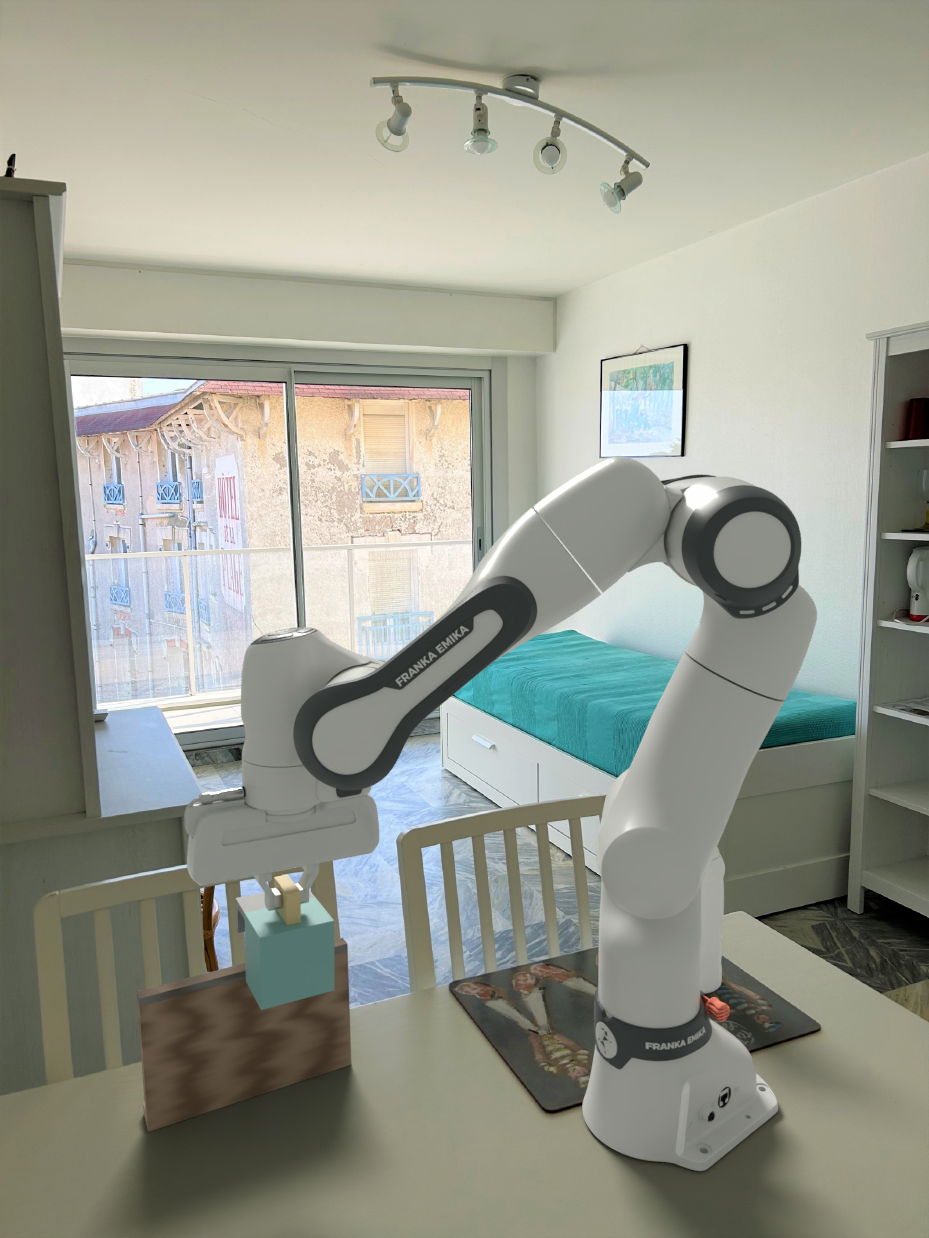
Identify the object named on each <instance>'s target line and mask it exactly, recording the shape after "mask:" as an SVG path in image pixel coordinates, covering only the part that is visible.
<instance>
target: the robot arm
mask: <svg viewBox="0 0 929 1238" xmlns="http://www.w3.org/2000/svg"><path fill="white" fill-rule="evenodd" d="M544 521H545V522H544ZM801 555H802V535H801V529H800V526H799V523H798V521H797V518H796V516H795V514H794V513H793V511H792V509H790V507H789V506H788V505H787V504H786V502H784V501H783V499H781V498H780V497H778V496H777V495H776V494H774V493H773V492H772V491H769V490H767V489H766V488H762V487H759V486H757V485H754V484H753V483H750V482H748V481H745V480H742V479H740V478H736V477H730V476H716V475H710V474H691V475H685V476H681V477H677V478H670V479H664V480H661V479H660V478H659V477H658V476H657V474H656V473H654V472H653V471H652V469H651V468H649V467H648V466H646V465H645V464H643V463H642V462H640V461H638V460H637V459H633V458H630V457H628V456H622V455H621V456H613V457H609V458H606V459H604V460H602V461H600V462H598V463H597V464H594V465H592V466H591V467H588V468H587V469H585V470H583V471H582V472H581V473H578V474H577V475H575V476H573V477H572V478H570V479H569V480H567V481H566V482H564V483H563V484H561V485H559V486H558V487H557V488H555V489H553V491H551V492H550V493H548V494H547V495H545V496H544V497H543V498H542V499H541V500H539V501H537V503H535V504H534V505H533V507H530V508H528V509H527V510H526V511H525V512H524V513H523V514H522V515H520V516H519V517H518V518H517V519H516V520H515V521H514V522H513V523H512V524H510V526H509V527H508V528H507V529H506V530H505V531H504V532H503V534H501V535H500V536H499V538H498V539H497V540H496V541H495V542H494V544H492V545H491V547H490V548H489V549H488V551H487V552H486V553H485V555H484V556H483V557H482V559H481V560H480V561H479V563H478V565H477V566H476V568H475V570H474V572H473V573H472V575H471V576H470V578H469V580H468V582H467V583H466V585H465V586H464V588H463V589H462V591H461V592H460V593H459V595H458V596H457V597H456V598H455V600H454V601H453V603H452V604H451V605H450V606H449V607H448V608H447V610H446V611H444V613H443V614H442V615H440V616H439V618H438V619H436V620H435V621H434V622H433V623H431V625H429V626H427V628H425V630H423V631H422V632H420V634H418V635H417V636H416V637H414V638H413V639H412V640H411V641H410V642H409V643H407V644H406V645H405V646H404V647H402V648H401V649H400V650H398V651H397V652H396V653H395V654H394V655H393V656H391V657H390V658H389V659H388V660H387V661H385V660H378V659H377V658H376V659H375V658H372V657H369V656H367V655H366V656H365V655H362V654H360V653H357V652H354V651H351V650H350V649H347V648H345V647H343V646H341V645H339V644H337V643H336V642H334V641H332V640H331V639H330V638H328V637H327V636H326V635H325V634H324V633H323V632H321V631H320V630H319V629H317V628H313V627H310V626H305V627H303V626H300V627H299V626H298V627H290V628H284V629H278V630H276V631H273V632H268V633H265V634H264V635H261V636H259V637H258V638H256V639H254V640H253V641H252V642H251V643H250V645H248V646H247V648H246V650H245V653H244V657H243V661H242V663H243V664H242V670H241V680H240V681H241V682H240V683H241V684H240V718H241V721H242V724H243V727H244V732H245V733H244V735H245V736H244V742H243V746H242V751H241V777H242V779H241V780H242V781H241V783H242V785H241V787H234V788H228V789H224V790H223V789H222V790H221V791H215V792H214V791H207V792H203V793H200V794H198V797H197V798H194V799H192V800H191V801H190V802H189V803H188V804H187V805H186V807H185V809H184V814H183V815H184V816H183V818H184V830H185V832H186V834H187V835H188V840H187V853H186V868H187V872H188V874H189V876H190V878H191V879H192V881H194V882H195V883H196V884H197V885H199V886H201V887H204V886H211V885H216V884H220V883H225V882H232V881H236V880H241V879H246V878H251V877H253V878H254V879H255V880H256V882H257V883H258V884H259V886H260V888H261V889H262V890H263V892H265V906H266V908H267V910H268V911H272V910H276V909H280V908H282V907H283V904H282V900H283V894H282V893H281V891H279V889H278V887H277V888H274V887H273V888H271V887H270V885H269V884H268V883H270V882H272V881H273V873H276V872H281V871H286V870H291V869H292V870H293V869H297V868H302V869H303V872H302V873H301V876H300V878H299V880H298V882H297V883H296V882H295V885H296V886H297V887H298V888H299V890H300V891H301V904H304V903H308V902H309V890H310V889H311V887H312V886H313V884H314V882H315V881H316V878H317V877H318V875H319V873H320V864H322V863H327V862H335V861H338V860H344V859H347V858H353V857H360V856H363V855H369V854H372V853H374V852H375V850H376V849H377V848H378V845H379V843H380V823H379V814H378V808H377V804H376V801H375V799H374V798H373V797H372V795H371V794H369V793H371V791H372V786H374V785H376V784H377V783H379V782H381V781H383V780H384V779H385V778H386V777H387V776H388V775H389V774H390V772H391V771H392V770H393V768H394V767H395V765H396V764H397V762H398V761H399V758H400V756H401V754H402V751H403V749H404V747H405V745H406V743H407V741H408V740H409V738H410V736H411V734H412V733H413V732H414V730H415V729H416V728H417V727H418V726H419V725H420V724H421V723H422V722H423V721H424V720H425V719H426V718H427V717H428V716H430V715H431V714H432V713H433V712H434V711H436V710H437V709H438V708H439V707H440V706H442V705H443V704H444V703H445V702H446V701H448V700H449V699H450V698H451V697H452V696H454V695H455V694H456V693H457V692H458V691H460V690H461V689H463V687H464V686H465V685H467V684H468V683H470V681H472V680H473V679H474V678H475V677H477V676H478V675H479V674H480V673H482V671H484V670H485V669H486V668H487V667H489V666H491V664H493V663H494V662H495V661H496V660H498V659H500V658H501V657H502V656H505V655H506V654H508V653H510V652H512V651H513V650H515V649H517V648H518V647H520V646H522V645H524V643H527V642H528V641H530V640H532V639H533V638H536V637H537V636H539V635H540V634H542V633H544V632H545V631H548V630H549V629H552V628H554V627H555V626H557V625H559V624H561V622H564V621H565V620H567V619H568V618H570V617H572V616H574V614H576V613H577V612H579V611H581V610H582V609H583V608H585V607H587V606H588V605H589V604H591V603H592V602H593V601H595V600H596V599H597V598H599V597H600V596H601V595H602V594H604V593H605V592H606V591H607V590H608V589H610V588H612V587H613V586H614V585H615V584H616V583H617V582H618V581H619V580H620V579H621V578H622V577H624V576H625V575H626V574H627V573H631V572H632V571H634V570H636V569H638V568H640V567H643V566H646V565H648V564H653V563H663V565H665V566H667V567H669V569H671V570H672V572H673V573H675V574H676V575H677V576H678V577H679V578H680V579H682V580H683V581H685V582H686V583H688V584H690V585H692V586H695V587H698V588H699V589H700V590H701V591H702V594H703V595H702V596H703V607H702V613H701V617H700V620H699V624H698V625H697V628H696V630H695V631H694V632H693V635H692V637H691V638H690V640H689V642H688V644H687V645H686V648H685V650H684V652H683V654H682V656H681V657H680V659H679V662H678V664H677V665H676V668H675V669H674V671H673V674H672V675H671V677H670V679H669V681H668V683H667V684H666V687H665V688H664V691H663V693H662V695H661V697H660V699H659V701H658V703H657V705H656V707H655V708H654V711H653V713H652V715H651V716H650V718H649V722H648V725H647V727H646V729H645V731H644V734H643V736H642V739H641V741H640V743H639V746H638V748H637V751H636V753H635V755H634V757H633V759H632V762H631V763H630V766H629V768H627V769H626V770H624V771H623V772H622V773H621V774H620V775H619V776H618V777H617V778H616V779H615V780H614V781H613V782H612V784H611V785H610V787H609V788H608V790H607V792H606V795H605V797H604V798H605V800H604V804H603V809H602V814H601V818H600V824H599V829H598V834H597V839H596V844H595V846H596V847H595V858H596V864H597V868H598V871H599V875H600V879H601V884H600V903H599V921H598V968H597V969H598V976H597V978H598V980H597V981H598V983H597V984H598V985H597V988H596V990H595V992H594V999H593V1001H594V1002H593V1032H594V1039H595V1040H594V1041H595V1045H594V1051H593V1059H592V1065H591V1070H590V1075H589V1079H588V1084H587V1088H586V1091H585V1094H584V1097H583V1100H582V1105H581V1107H582V1114H583V1115H582V1116H583V1119H584V1122H585V1123H586V1126H587V1127H588V1129H589V1130H590V1131H591V1133H592V1134H593V1135H594V1136H595V1137H596V1138H597V1139H598V1140H599V1141H600V1142H602V1143H603V1144H604V1145H606V1146H607V1147H609V1148H610V1149H613V1151H614V1150H615V1151H616V1152H618V1153H620V1154H622V1155H625V1156H628V1157H631V1158H634V1159H638V1160H642V1161H648V1162H649V1161H650V1162H662V1163H664V1162H665V1163H670V1164H675V1165H677V1166H680V1167H682V1168H686V1169H689V1170H693V1171H697V1172H703V1171H706V1170H708V1169H709V1168H711V1167H712V1166H713V1165H714V1164H715V1163H717V1162H718V1161H719V1160H721V1158H723V1157H724V1156H725V1155H726V1154H728V1153H729V1152H730V1151H731V1150H733V1149H734V1148H735V1147H736V1146H737V1145H739V1144H740V1143H741V1142H743V1141H744V1140H745V1139H746V1138H747V1137H749V1136H750V1135H751V1134H752V1133H754V1132H755V1131H756V1130H757V1129H759V1128H760V1127H761V1126H762V1125H763V1124H765V1123H766V1122H767V1121H769V1119H771V1118H772V1117H773V1116H775V1115H776V1113H778V1111H779V1103H778V1099H777V1097H776V1095H775V1093H774V1092H773V1090H772V1089H771V1087H770V1086H769V1084H768V1083H767V1082H766V1081H765V1080H764V1079H763V1078H762V1077H761V1076H760V1075H759V1074H758V1073H757V1071H756V1065H755V1061H754V1059H753V1057H752V1055H751V1053H750V1051H749V1050H748V1048H747V1047H746V1046H745V1045H744V1044H743V1043H742V1041H740V1040H739V1038H737V1037H736V1036H735V1035H734V1034H732V1033H731V1032H729V1030H727V1029H726V1028H724V1026H721V1025H720V1024H718V1023H717V1022H719V1023H723V1022H725V1021H726V1020H727V1019H728V1017H729V1016H730V1012H731V1010H730V1006H729V1005H728V1004H727V1003H726V1002H723V1001H720V999H719V998H718V997H716V996H713V997H711V998H709V997H708V996H705V994H704V992H703V991H701V990H700V977H701V942H702V925H701V882H702V879H703V877H704V874H705V872H706V869H707V867H708V865H709V863H710V860H711V858H712V856H713V854H714V852H715V849H716V847H718V845H719V842H720V840H721V838H722V835H723V833H724V831H725V829H726V827H727V824H728V822H729V819H730V816H731V814H732V812H733V809H734V807H735V805H736V804H735V803H736V802H737V799H738V797H739V794H740V791H741V788H742V786H743V783H744V780H745V779H746V775H747V773H748V771H749V769H750V767H751V765H752V763H753V761H754V759H755V757H756V755H757V753H758V751H759V749H760V748H761V746H762V744H763V742H764V740H765V738H766V736H767V735H768V732H769V731H770V729H771V728H772V726H773V724H774V723H775V720H776V718H777V717H778V715H779V712H780V710H781V708H782V706H783V705H784V703H785V701H786V700H787V697H788V695H789V693H790V691H791V690H792V688H793V686H794V683H795V681H796V679H797V677H798V675H799V673H800V670H801V668H802V665H803V663H804V661H805V658H806V655H807V653H808V650H809V647H810V644H811V641H812V639H813V635H814V631H815V628H816V624H817V620H818V610H817V606H816V603H815V601H814V598H813V597H812V596H811V595H810V594H809V593H808V591H806V589H805V588H804V587H802V586H801V584H800V573H799V571H800V567H799V565H800V562H801ZM597 587H598V588H597ZM600 591H601V592H602V593H601V592H600ZM709 1015H710V1016H712V1017H713V1018H714V1019H715V1020H716V1021H717V1022H716V1021H714V1020H713V1019H711V1018H710V1017H709Z"/></svg>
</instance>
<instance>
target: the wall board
mask: <svg viewBox="0 0 929 1238" xmlns="http://www.w3.org/2000/svg"><path fill="white" fill-rule="evenodd" d="M348 951H349V949H348V942H347V940H345V939H344V937H340V938H338V939H334V991H330V992H326V993H322V994H319V995H315V996H311V997H308V998H304V999H300V1000H297V1001H293V1002H289V1003H286V1004H282V1005H278V1006H274V1007H271V1008H267V1009H263V1010H261V1009H260V1007H259V1005H258V1003H257V1001H256V999H255V998H254V996H253V994H252V992H251V990H250V988H249V986H248V984H247V982H246V962H244V963H239V964H236V965H233V966H229V967H225V968H221V969H216V970H213V971H210V972H205V973H202V974H198V975H194V976H190V977H189V976H188V977H186V978H181V979H177V980H174V981H171V982H167V983H162V984H159V985H154V986H151V987H147V988H144V989H139V990H136V999H137V1001H136V1002H137V1014H138V1027H139V1028H138V1029H139V1031H138V1032H139V1041H140V1043H139V1044H140V1056H141V1057H140V1058H141V1069H142V1070H141V1074H142V1083H143V1084H142V1086H143V1099H144V1101H142V1109H143V1111H142V1112H143V1117H144V1121H145V1125H146V1129H147V1132H148V1133H149V1132H153V1131H155V1130H159V1129H162V1128H165V1127H168V1126H170V1125H174V1124H176V1123H179V1122H182V1121H185V1120H188V1119H192V1118H194V1117H198V1116H201V1115H203V1114H207V1113H210V1112H212V1111H216V1110H219V1109H222V1108H225V1107H228V1106H231V1105H234V1104H237V1103H240V1102H243V1101H246V1100H248V1099H252V1098H255V1097H259V1096H260V1095H265V1094H267V1093H270V1092H274V1091H276V1090H278V1089H279V1090H280V1089H282V1088H286V1087H289V1086H291V1085H295V1084H298V1083H301V1082H304V1081H307V1080H309V1079H312V1078H315V1077H316V1078H317V1077H318V1076H321V1075H325V1074H327V1073H330V1072H334V1071H337V1070H339V1069H343V1068H346V1067H348V1066H352V1043H351V1040H352V1039H351V1037H352V1036H351V1013H350V1012H351V1011H350V1010H351V1009H350V984H349V983H350V981H349V955H348V954H349V953H348Z"/></svg>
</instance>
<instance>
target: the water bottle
mask: <svg viewBox="0 0 929 1238" xmlns="http://www.w3.org/2000/svg"><path fill="white" fill-rule="evenodd" d="M725 872H726V865H725V861H724V859H723V857H722V855H721V853H720V849H719V847H718V846H717V847H716V849H715V852H714V854H713V856H712V858H711V860H710V863H709V865H708V867H707V869H706V872H705V874H704V877H703V879H702V882H701V925H702V942H701V977H700V990H701V991H703V992H704V995H705V994H710V993H712V992H713V993H714V992H715V991H717V990H718V989H719V988H720V987H721V985H722V981H723V980H722V978H723V968H722V967H723V966H722V957H723V950H724V949H723V939H722V935H723V927H724V916H725V915H724V911H725V910H724V909H725V885H724V883H725V882H724V877H725Z"/></svg>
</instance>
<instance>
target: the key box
mask: <svg viewBox="0 0 929 1238" xmlns="http://www.w3.org/2000/svg"><path fill="white" fill-rule="evenodd" d="M273 882H274V883H273V885H274V887H273V888H277V887H278V889H279V891H281V893H282V894H283V900H282V904H283V907H282V908H280V909H276V910H272V911H268V910H267V908H266V906H265V892H264V891H262V892H259V893H253V894H249V895H243V896H239V897H235V926H236V929H235V931H236V932H237V933H238V934H239V933H240V934H241V933H244V949H245V950H244V952H245V954H244V955H245V963H246V982H247V984H248V986H249V988H250V990H251V992H252V994H253V996H254V998H255V999H256V1001H257V1003H258V1005H259V1007H260V1009H261V1010H263V1009H267V1008H271V1007H274V1006H278V1005H282V1004H286V1003H289V1002H293V1001H297V1000H300V999H304V998H308V997H311V996H315V995H319V994H322V993H326V992H330V991H334V940H335V920H334V918H332V916H331V915H330V913H329V912H328V911H327V910H326V909H325V907H324V906H323V905H322V903H321V902H320V901H319V900H318V899H317V897H316V896H315V895H314V893H313V892H312V891H311V890H310V889H309V902H308V903H304V904H301V891H300V890H299V888H298V887H297V886H296V885H295V884H296V882H294V880H292V878H291V877H290V876H289V874H282V875H278V876H277V875H276V876H273Z"/></svg>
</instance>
